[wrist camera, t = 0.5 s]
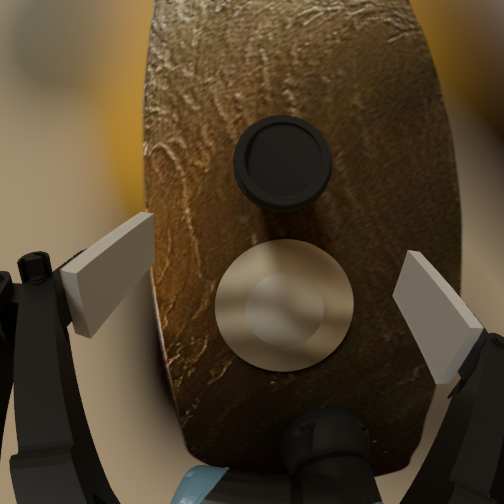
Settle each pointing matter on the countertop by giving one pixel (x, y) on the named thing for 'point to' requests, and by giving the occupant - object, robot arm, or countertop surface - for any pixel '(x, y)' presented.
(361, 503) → the robot arm
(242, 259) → the cream round saucer
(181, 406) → the countertop surface
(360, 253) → the countertop surface
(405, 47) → the countertop surface
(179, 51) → the countertop surface
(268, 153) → the coffee cup
